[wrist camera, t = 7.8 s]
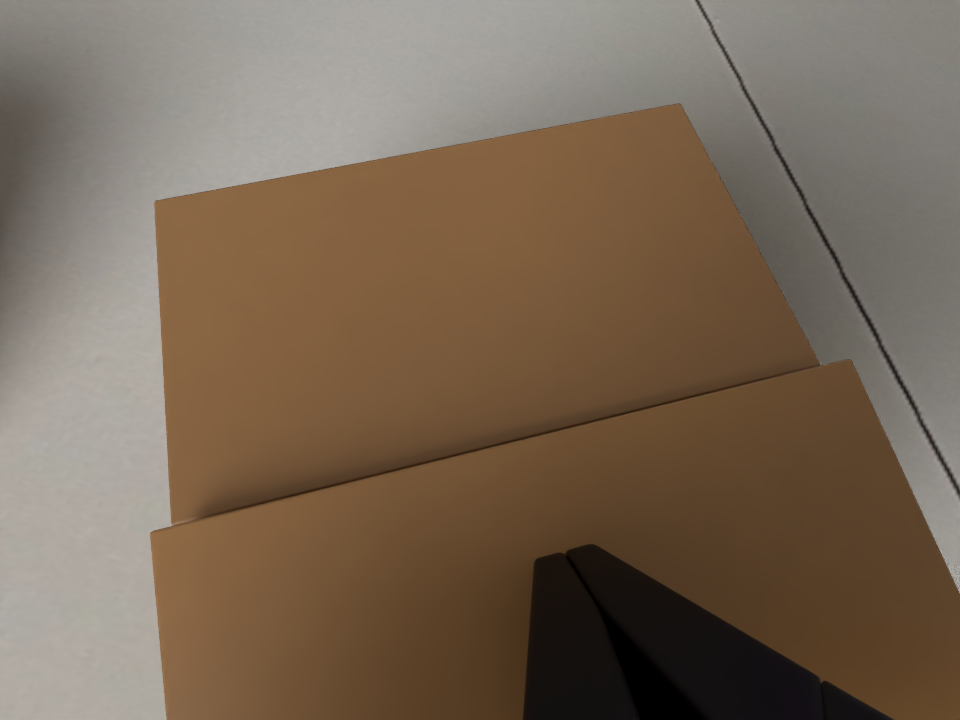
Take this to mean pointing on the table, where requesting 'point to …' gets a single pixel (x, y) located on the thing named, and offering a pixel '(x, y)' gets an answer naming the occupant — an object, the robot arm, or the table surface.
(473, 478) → the flap
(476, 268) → the carton
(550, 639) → the robot arm
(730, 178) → the table surface
